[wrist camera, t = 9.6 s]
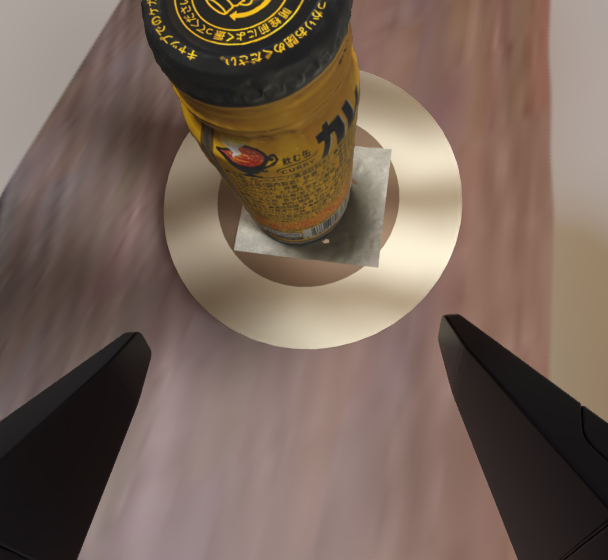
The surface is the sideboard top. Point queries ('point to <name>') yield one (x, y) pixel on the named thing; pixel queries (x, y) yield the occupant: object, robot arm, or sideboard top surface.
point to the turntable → (319, 274)
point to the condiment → (278, 120)
